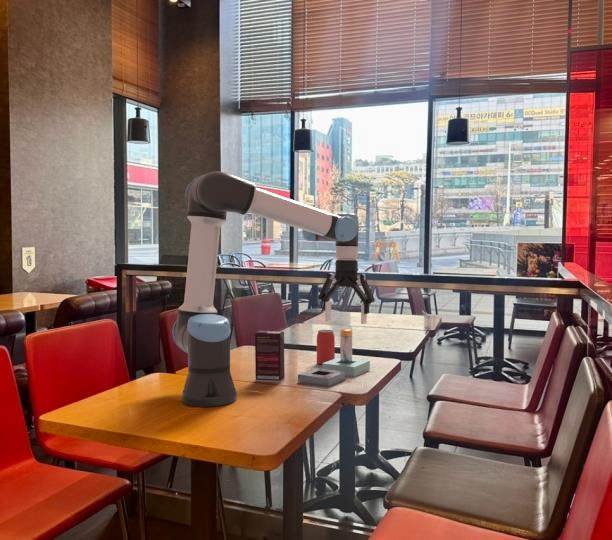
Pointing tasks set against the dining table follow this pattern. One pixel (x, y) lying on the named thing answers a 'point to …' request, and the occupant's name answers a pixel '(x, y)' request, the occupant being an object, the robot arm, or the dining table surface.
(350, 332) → the pin
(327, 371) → the mount
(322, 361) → the beer can
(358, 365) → the socket block
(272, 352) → the supplement box
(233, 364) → the dining table surface
